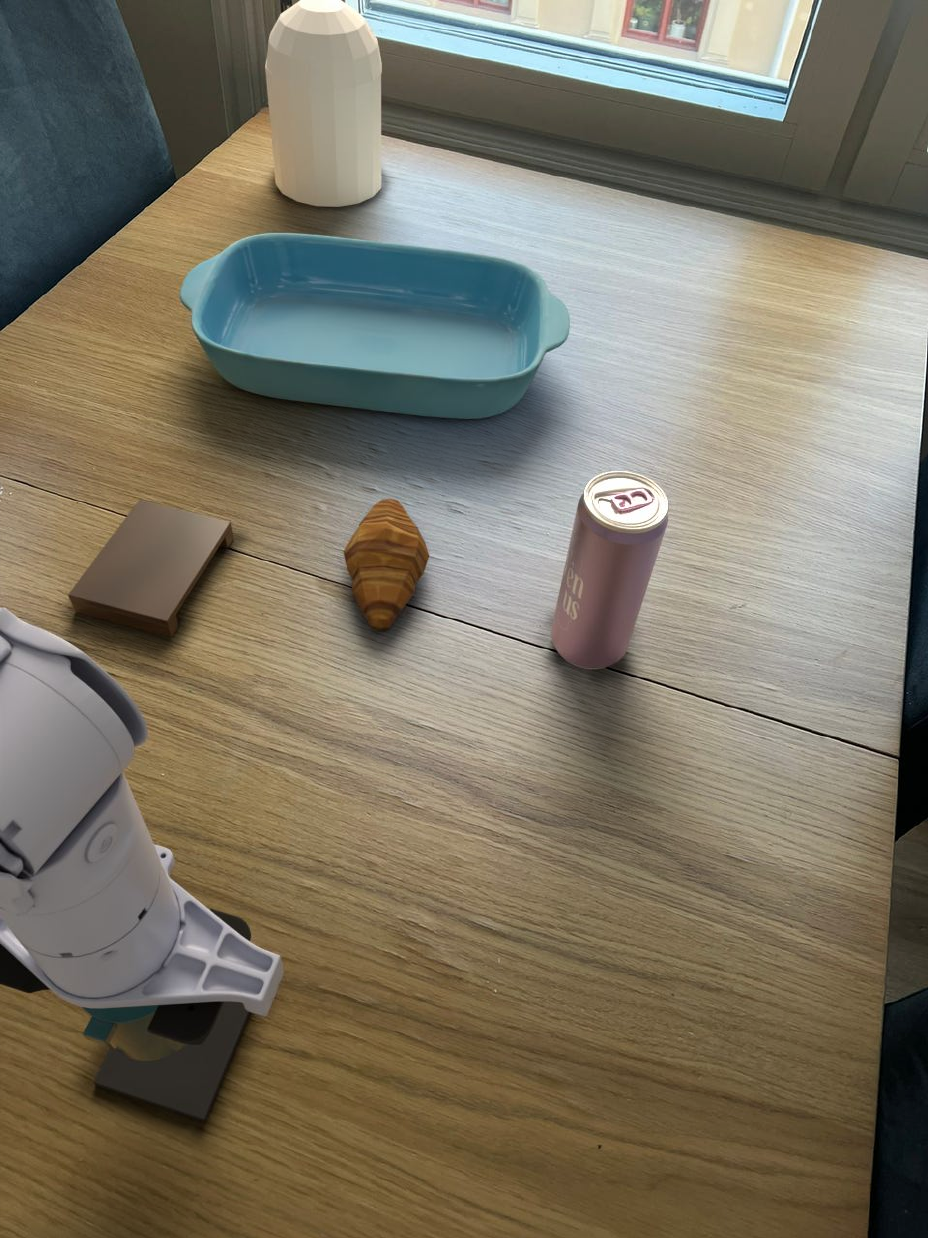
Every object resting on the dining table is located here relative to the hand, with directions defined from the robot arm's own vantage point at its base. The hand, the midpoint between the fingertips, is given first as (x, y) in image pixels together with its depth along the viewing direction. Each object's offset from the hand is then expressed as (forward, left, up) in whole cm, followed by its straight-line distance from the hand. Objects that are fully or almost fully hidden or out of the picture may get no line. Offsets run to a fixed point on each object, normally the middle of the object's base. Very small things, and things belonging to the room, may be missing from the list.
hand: (152, 1000), depth 46 cm
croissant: (0, +37, -7) cm, 38 cm away
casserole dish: (-10, +64, -7) cm, 66 cm away
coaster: (0, 0, -7) cm, 7 cm away
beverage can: (+17, +35, -7) cm, 40 cm away
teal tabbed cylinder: (0, 0, -1) cm, 1 cm away
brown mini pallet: (-17, +31, -7) cm, 36 cm away
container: (-28, +98, -7) cm, 103 cm away
